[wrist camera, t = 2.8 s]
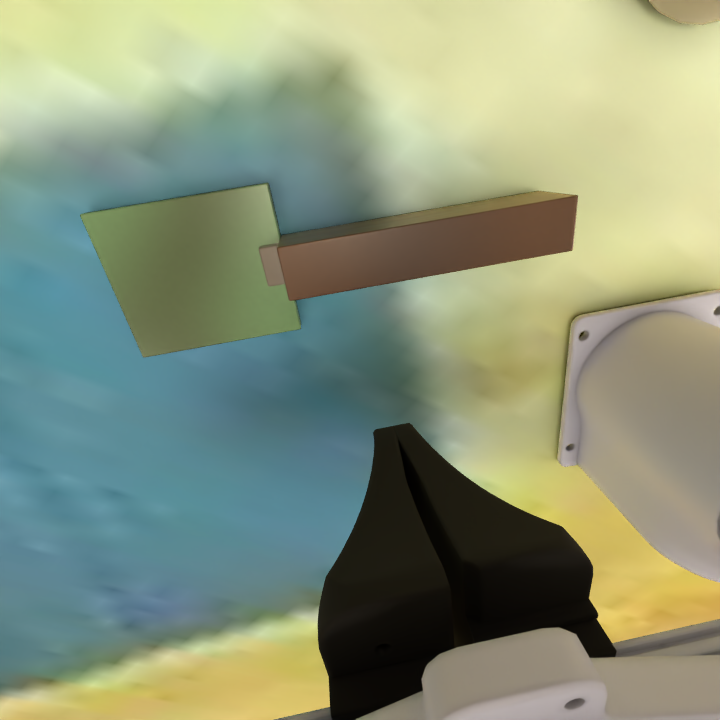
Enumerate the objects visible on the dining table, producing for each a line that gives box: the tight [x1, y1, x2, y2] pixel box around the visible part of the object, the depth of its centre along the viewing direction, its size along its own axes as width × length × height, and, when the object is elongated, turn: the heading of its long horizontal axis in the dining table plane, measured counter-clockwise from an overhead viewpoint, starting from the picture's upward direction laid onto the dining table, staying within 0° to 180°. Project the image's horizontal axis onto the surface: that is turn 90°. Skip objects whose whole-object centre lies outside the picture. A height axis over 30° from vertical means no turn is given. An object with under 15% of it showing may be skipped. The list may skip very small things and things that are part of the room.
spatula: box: [80, 183, 578, 357], centre depth 16 cm, size 18×6×3 cm, turn 98°
